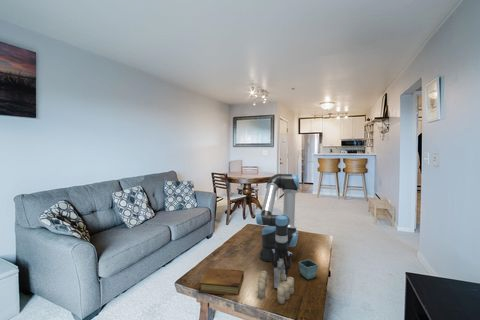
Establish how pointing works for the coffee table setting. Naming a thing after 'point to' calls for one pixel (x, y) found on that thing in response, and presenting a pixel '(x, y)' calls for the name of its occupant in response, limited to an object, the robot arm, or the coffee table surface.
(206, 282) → the diary
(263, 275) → the posts
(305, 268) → the flower pot
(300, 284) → the coffee table surface
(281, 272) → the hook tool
